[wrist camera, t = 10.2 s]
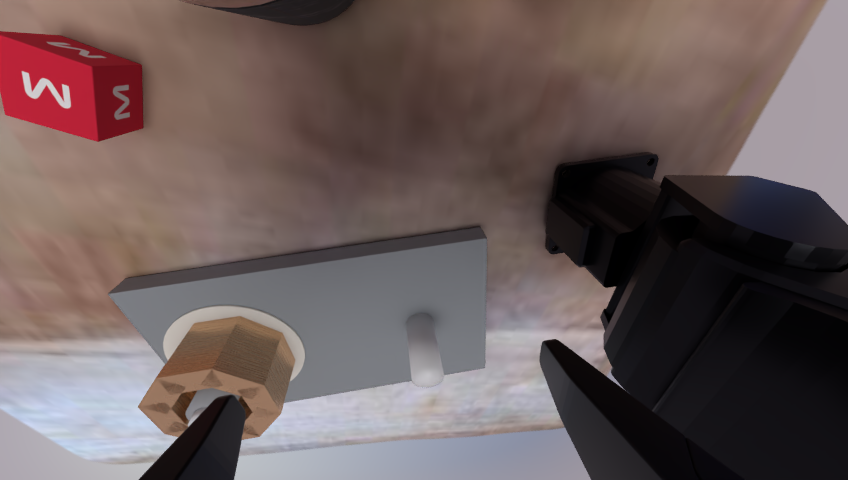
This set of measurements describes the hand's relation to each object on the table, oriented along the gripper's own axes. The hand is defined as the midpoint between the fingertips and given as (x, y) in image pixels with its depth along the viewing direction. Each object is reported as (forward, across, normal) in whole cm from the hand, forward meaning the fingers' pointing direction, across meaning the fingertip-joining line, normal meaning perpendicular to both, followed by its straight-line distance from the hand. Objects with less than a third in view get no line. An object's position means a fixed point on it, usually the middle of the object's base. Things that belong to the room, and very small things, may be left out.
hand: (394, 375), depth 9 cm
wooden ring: (+10, +12, +9) cm, 18 cm away
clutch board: (+12, +6, +9) cm, 16 cm away
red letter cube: (+12, +12, -8) cm, 19 cm away
